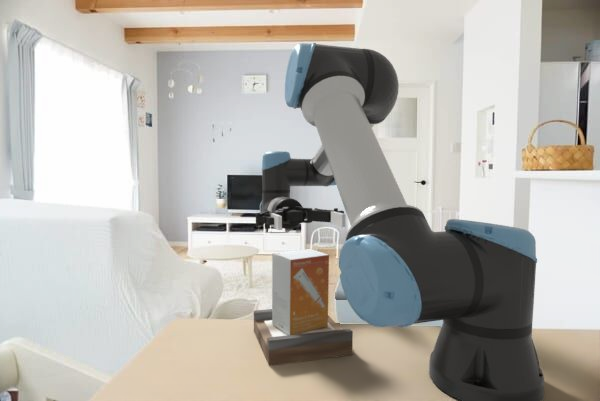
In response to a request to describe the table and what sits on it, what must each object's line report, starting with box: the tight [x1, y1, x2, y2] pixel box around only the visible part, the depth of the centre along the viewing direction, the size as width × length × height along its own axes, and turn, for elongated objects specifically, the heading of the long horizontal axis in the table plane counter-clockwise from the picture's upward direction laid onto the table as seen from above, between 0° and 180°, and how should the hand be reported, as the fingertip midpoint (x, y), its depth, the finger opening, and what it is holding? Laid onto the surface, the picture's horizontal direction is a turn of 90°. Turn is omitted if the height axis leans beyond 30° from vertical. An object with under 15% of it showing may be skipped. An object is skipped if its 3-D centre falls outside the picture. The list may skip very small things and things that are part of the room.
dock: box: [253, 308, 354, 366], centre depth 74 cm, size 14×14×4 cm
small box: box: [271, 248, 330, 335], centre depth 74 cm, size 8×6×13 cm
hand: (312, 221), depth 85 cm, fingers open, 13 cm apart
